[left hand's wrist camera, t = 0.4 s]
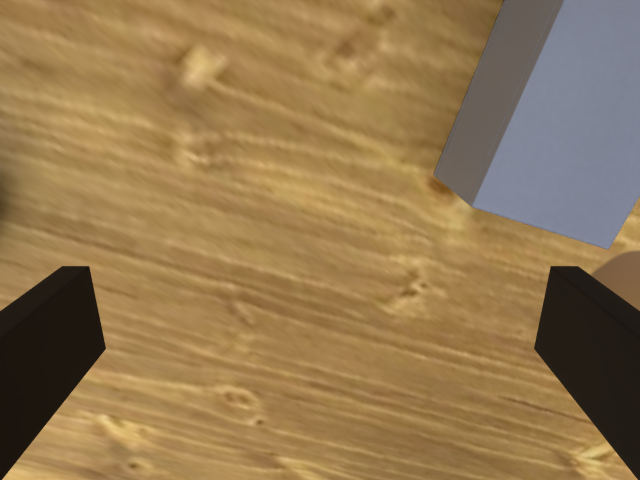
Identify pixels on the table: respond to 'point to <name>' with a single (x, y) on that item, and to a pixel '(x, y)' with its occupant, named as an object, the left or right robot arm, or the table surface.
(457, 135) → the grey rectangular box
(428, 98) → the table surface
